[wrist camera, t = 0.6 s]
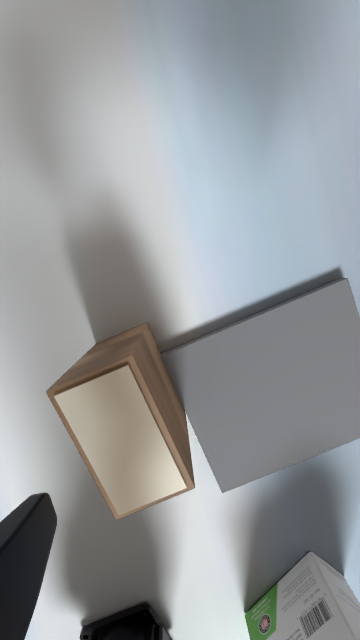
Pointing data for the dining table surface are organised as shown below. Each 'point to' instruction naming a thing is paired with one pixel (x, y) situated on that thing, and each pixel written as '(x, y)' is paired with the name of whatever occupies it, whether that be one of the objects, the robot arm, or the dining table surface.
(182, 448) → the cream panel wooden box
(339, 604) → the ink box
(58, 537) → the dining table surface
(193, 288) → the dining table surface
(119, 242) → the dining table surface
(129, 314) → the dining table surface
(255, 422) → the rubber mat
